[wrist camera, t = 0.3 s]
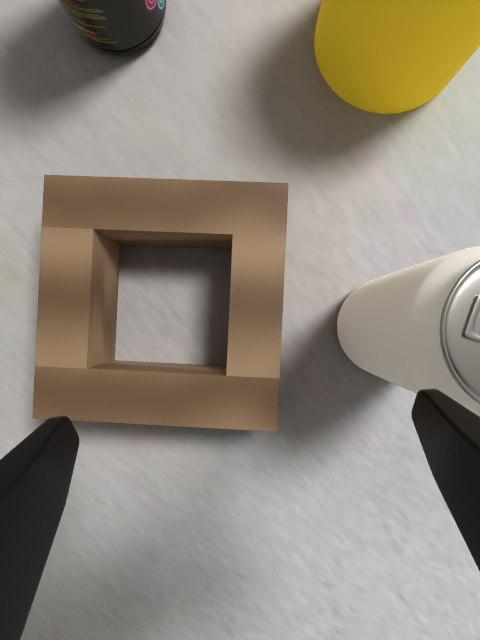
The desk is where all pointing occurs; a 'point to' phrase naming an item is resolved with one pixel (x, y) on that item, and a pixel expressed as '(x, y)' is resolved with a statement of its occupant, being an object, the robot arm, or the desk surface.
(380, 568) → the desk surface
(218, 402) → the bored block
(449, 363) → the can
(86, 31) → the supplement container
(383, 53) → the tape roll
